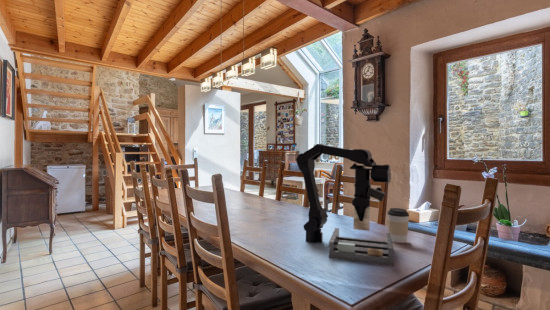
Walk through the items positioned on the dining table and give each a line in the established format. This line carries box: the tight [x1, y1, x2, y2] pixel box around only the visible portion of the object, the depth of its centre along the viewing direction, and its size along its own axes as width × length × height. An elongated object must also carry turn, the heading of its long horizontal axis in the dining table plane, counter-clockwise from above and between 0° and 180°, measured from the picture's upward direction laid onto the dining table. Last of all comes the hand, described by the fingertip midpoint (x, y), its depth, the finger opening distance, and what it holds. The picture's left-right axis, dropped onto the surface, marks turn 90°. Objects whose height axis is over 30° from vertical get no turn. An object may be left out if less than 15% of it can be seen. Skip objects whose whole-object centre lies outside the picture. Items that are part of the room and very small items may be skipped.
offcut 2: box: [368, 248, 383, 256], centre depth 106 cm, size 5×2×4 cm, turn 72°
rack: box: [328, 227, 395, 267], centre depth 114 cm, size 22×20×7 cm
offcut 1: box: [338, 242, 355, 253], centre depth 109 cm, size 6×2×5 cm, turn 72°
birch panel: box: [353, 206, 371, 232], centre depth 116 cm, size 6×2×9 cm, turn 71°
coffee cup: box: [386, 207, 410, 244], centre depth 130 cm, size 9×9×15 cm
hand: (361, 220), depth 116 cm, fingers closed on birch panel, 2 cm apart
